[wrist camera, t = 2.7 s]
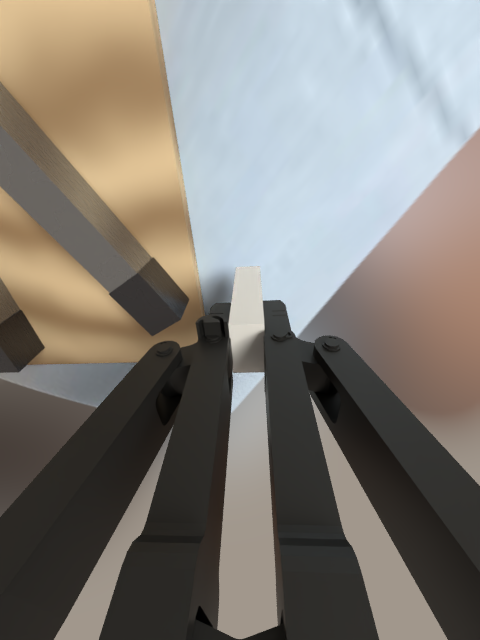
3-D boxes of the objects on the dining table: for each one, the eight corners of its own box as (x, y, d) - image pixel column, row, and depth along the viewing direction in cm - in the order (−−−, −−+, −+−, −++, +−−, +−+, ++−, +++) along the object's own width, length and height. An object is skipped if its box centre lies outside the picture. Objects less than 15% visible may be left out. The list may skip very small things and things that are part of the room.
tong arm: (-97, 41, 12) (-181, 14, 10) (-72, -7, 11) (-159, -50, 9) (163, 314, 20) (152, 336, 18) (189, 299, 20) (180, 319, 17)
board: (-277, -47, 12) (-326, -66, 11) (137, -106, 11) (125, -134, 10) (14, 356, 25) (4, 365, 24) (210, 352, 24) (209, 360, 23)
